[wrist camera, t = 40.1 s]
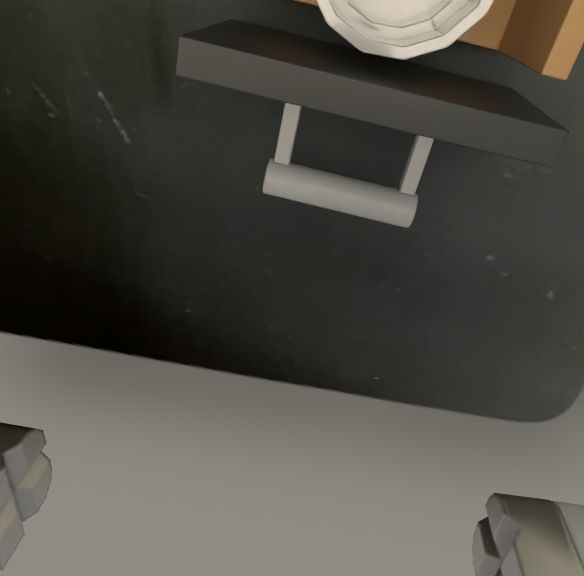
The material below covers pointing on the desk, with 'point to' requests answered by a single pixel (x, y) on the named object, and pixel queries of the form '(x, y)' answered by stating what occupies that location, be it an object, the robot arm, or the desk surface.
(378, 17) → the steel bowl
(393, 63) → the drawer
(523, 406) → the desk surface
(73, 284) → the desk surface
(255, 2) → the desk surface
